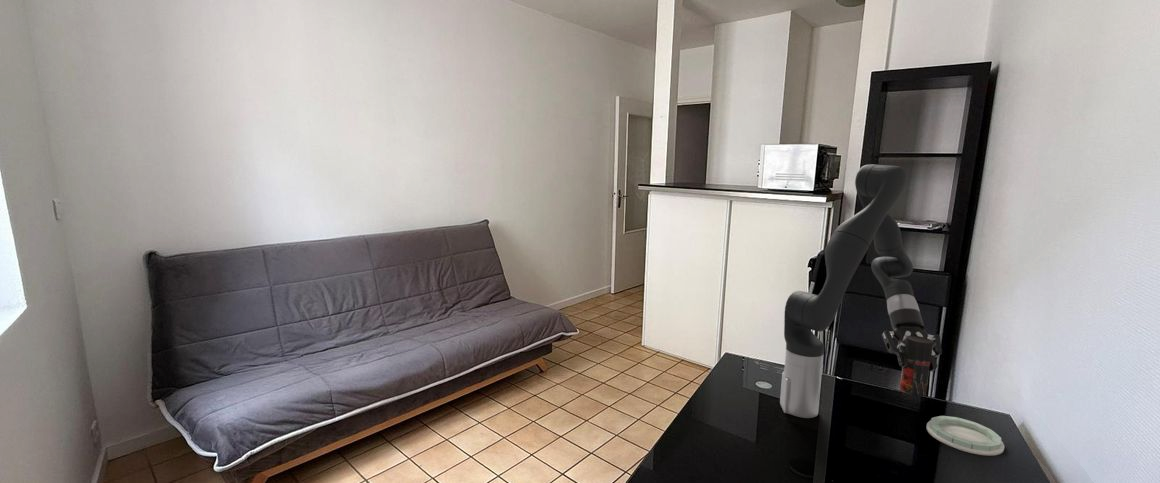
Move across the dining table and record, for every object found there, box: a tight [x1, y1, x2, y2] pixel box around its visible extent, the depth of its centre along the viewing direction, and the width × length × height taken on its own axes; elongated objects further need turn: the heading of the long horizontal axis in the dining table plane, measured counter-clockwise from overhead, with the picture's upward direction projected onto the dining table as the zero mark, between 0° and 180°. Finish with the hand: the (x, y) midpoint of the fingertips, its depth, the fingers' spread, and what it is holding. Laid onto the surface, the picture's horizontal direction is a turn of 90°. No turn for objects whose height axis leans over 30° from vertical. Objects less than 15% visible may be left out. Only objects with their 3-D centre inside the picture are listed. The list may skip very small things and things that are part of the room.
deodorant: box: [899, 336, 933, 398], centre depth 126 cm, size 6×6×15 cm
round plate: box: [926, 415, 1005, 457], centre depth 116 cm, size 15×15×2 cm
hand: (919, 368), depth 125 cm, fingers closed on deodorant, 6 cm apart
